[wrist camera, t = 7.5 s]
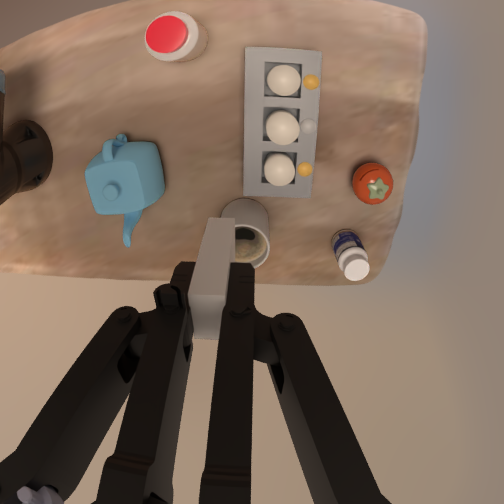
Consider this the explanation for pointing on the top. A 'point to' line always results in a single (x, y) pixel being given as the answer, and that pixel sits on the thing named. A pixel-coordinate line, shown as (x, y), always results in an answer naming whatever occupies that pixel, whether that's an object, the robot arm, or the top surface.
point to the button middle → (282, 127)
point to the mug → (249, 231)
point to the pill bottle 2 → (350, 255)
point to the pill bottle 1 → (175, 37)
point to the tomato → (372, 183)
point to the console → (266, 101)
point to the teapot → (125, 180)
